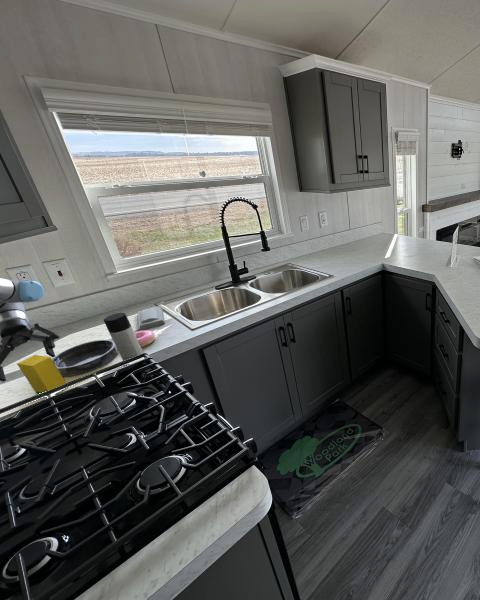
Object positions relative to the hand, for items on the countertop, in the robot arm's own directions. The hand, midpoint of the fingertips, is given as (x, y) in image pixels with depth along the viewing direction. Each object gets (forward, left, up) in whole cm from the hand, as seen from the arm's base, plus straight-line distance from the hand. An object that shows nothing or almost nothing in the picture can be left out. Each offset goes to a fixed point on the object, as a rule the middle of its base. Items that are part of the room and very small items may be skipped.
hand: (26, 367), depth 110 cm
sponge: (+4, -3, -10) cm, 11 cm away
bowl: (+11, +13, -10) cm, 20 cm away
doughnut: (+28, +17, -10) cm, 34 cm away
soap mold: (+30, +42, -10) cm, 53 cm away
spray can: (+27, +2, -10) cm, 29 cm away
